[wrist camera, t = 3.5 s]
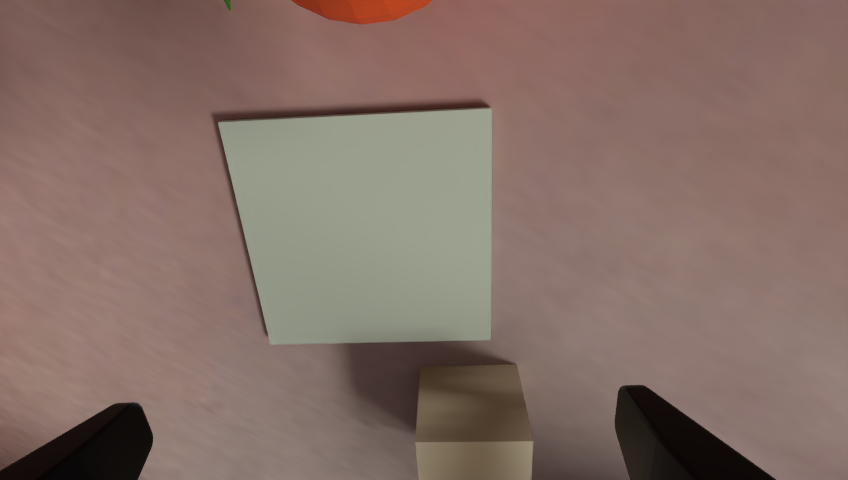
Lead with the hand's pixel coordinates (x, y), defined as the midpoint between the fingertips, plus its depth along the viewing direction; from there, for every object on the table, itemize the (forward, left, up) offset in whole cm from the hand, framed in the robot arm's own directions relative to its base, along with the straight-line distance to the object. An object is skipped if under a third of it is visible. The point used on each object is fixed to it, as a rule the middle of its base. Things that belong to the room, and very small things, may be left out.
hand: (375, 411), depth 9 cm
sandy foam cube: (+2, -10, -11) cm, 15 cm away
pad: (-2, -1, -11) cm, 11 cm away
